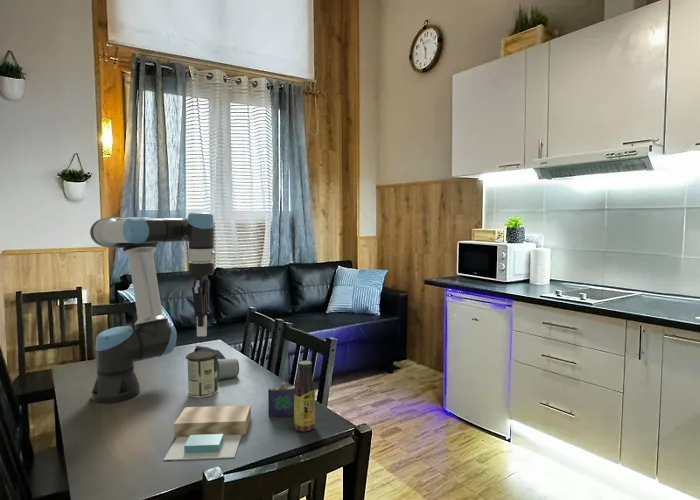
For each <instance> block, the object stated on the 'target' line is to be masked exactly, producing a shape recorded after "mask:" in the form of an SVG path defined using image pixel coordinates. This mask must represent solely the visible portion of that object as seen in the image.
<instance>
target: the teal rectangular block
mask: <svg viewBox="0 0 700 500" xmlns="http://www.w3.org/2000/svg"><path fill="white" fill-rule="evenodd" d="M222 443H223V434H205V435H190V437H189V438H188V440H187V442H186V444H185V445H184V453H205V452H219V451H220V448H221V446H222Z"/></svg>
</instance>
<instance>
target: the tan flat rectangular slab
mask: <svg viewBox="0 0 700 500" xmlns="http://www.w3.org/2000/svg"><path fill="white" fill-rule="evenodd" d="M251 411H252V406H251V404H250V405H249V404H248V405H216V406H211V405H210V406H187V407H186V406H185V407H184V408H183V410H182V411H181V412H180V414H179V416H178V417H177V419H176V420H175V421H174V423H173V429H174V431H173V432H174V434H173V435H174V438H177V437H188V436H190V435H205V434H223V435H242V436H243V435H246V434H247V431H248V428H249V425H250V421H251V418H252V412H251Z"/></svg>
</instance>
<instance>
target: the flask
mask: <svg viewBox="0 0 700 500" xmlns="http://www.w3.org/2000/svg"><path fill="white" fill-rule="evenodd" d="M267 392H268V397H267V398H268V407H267V408H268V412H267V413H268V417H269V418H272V419H278V418H279V419H280V418H288V417H294V393H295V385H289V386H286V382H285V381H282V382H281V384H280V385H279V386H276V387H275V385H273V387H269V388H268V391H267Z"/></svg>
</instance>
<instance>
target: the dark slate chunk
mask: <svg viewBox="0 0 700 500" xmlns="http://www.w3.org/2000/svg"><path fill="white" fill-rule="evenodd" d="M200 350H213V351H216V352H217V359H227V358H226V357H225V356H224V354H223V353H222V352H221V351H220V350H218V349H213V348H211V347H208V346H201V345H195V348H194V349H193V352H195V351H200ZM187 355H188V354H186V355H185V357H186V358H187Z"/></svg>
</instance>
